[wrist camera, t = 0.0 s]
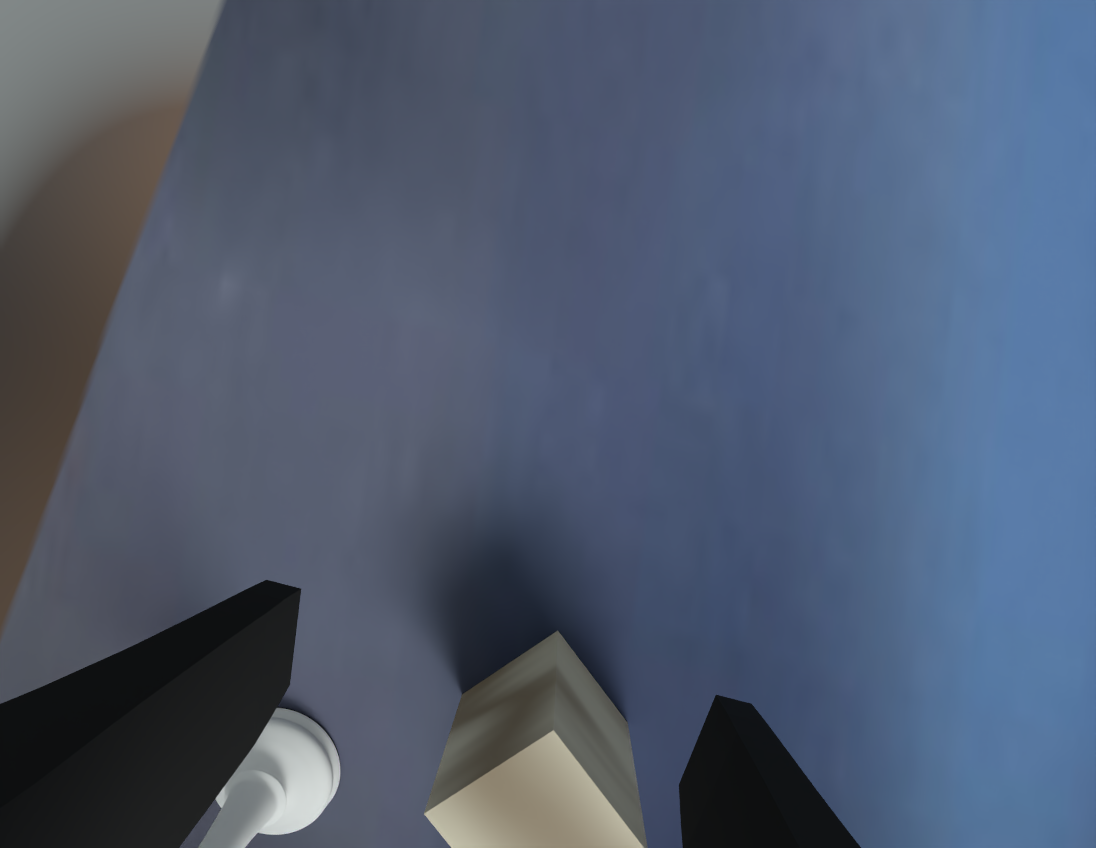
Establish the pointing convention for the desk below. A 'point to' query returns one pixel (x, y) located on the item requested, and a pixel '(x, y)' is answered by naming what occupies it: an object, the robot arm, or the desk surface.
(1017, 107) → the desk surface
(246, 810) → the chess piece
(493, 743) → the metal block
